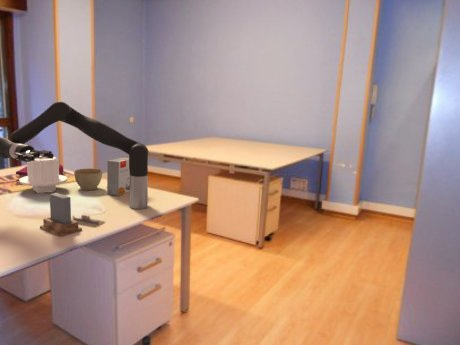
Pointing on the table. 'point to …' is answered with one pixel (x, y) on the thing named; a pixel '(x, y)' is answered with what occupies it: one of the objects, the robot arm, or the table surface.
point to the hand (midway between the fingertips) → (43, 157)
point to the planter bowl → (88, 178)
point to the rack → (60, 227)
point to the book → (24, 173)
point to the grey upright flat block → (60, 208)
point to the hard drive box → (118, 176)
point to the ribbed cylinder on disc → (43, 175)
